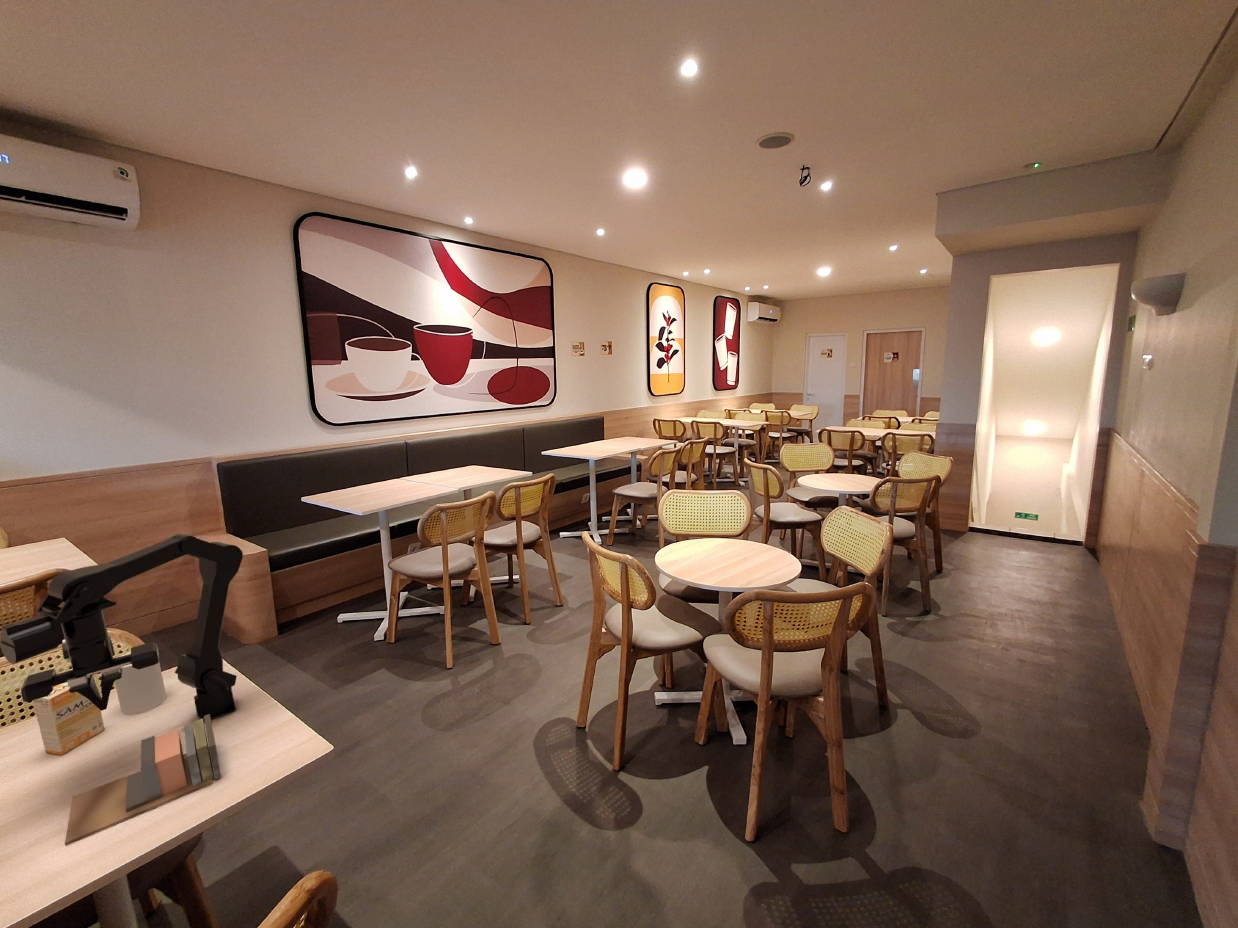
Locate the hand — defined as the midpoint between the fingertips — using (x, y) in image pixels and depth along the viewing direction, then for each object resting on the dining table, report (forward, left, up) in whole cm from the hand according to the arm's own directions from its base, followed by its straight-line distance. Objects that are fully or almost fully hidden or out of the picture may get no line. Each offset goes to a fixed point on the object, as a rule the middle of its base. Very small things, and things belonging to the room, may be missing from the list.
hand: (104, 708), depth 106 cm
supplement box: (+7, -16, -13) cm, 22 cm away
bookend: (-4, +12, -12) cm, 18 cm away
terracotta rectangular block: (-9, +12, -12) cm, 19 cm away
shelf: (-5, +12, -13) cm, 18 cm away
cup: (-4, -23, -13) cm, 27 cm away
